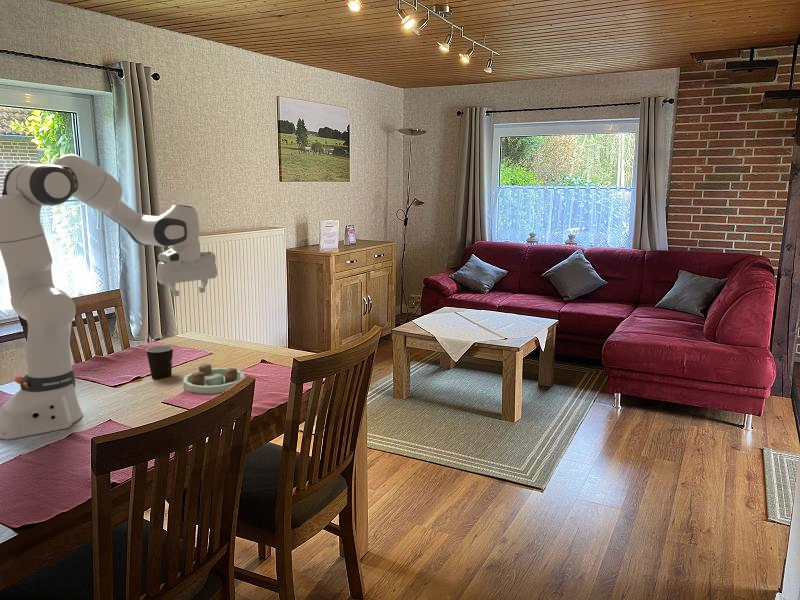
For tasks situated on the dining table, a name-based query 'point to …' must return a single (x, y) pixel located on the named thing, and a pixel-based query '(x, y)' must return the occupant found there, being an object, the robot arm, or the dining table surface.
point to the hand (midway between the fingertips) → (189, 294)
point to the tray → (211, 388)
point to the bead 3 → (230, 375)
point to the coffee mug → (160, 361)
